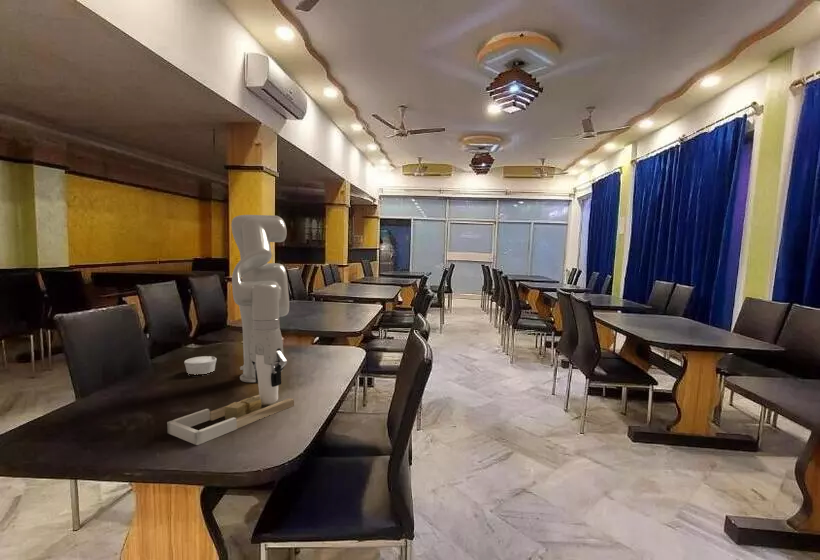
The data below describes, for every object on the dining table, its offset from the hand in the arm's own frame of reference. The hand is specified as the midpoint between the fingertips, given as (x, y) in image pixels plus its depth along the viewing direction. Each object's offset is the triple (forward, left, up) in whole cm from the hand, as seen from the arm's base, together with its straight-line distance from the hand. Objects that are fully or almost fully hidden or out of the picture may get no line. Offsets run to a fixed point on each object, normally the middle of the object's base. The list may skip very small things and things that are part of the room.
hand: (268, 383), depth 131 cm
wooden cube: (0, -7, -7) cm, 10 cm away
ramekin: (-52, +10, -7) cm, 53 cm away
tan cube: (0, -12, -7) cm, 14 cm away
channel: (0, -6, -7) cm, 9 cm away
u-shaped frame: (0, -22, -7) cm, 23 cm away
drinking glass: (0, 0, -6) cm, 6 cm away
